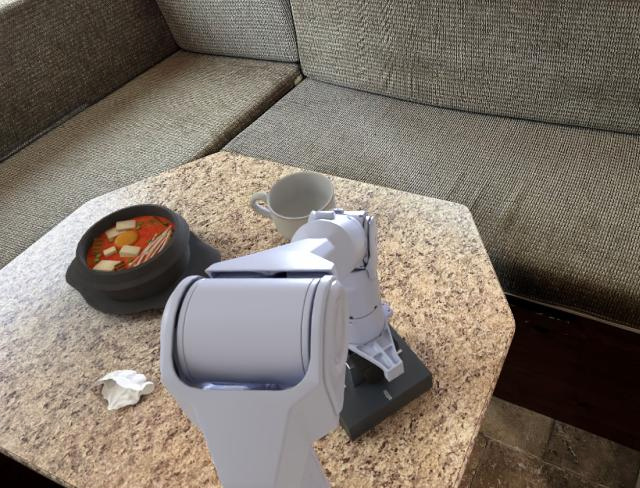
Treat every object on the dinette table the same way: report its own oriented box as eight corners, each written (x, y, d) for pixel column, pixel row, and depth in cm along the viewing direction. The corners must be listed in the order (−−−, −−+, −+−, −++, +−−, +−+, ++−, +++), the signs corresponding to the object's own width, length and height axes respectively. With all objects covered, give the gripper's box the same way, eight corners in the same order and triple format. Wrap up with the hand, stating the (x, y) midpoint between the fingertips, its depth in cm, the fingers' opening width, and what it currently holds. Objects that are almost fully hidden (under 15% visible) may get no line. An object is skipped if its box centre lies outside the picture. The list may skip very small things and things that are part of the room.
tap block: (352, 441, 72) (348, 428, 70) (312, 381, 78) (308, 368, 76) (433, 386, 76) (432, 372, 74) (389, 334, 83) (387, 320, 81)
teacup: (350, 211, 103) (343, 174, 98) (327, 257, 95) (318, 220, 90) (275, 201, 106) (265, 165, 101) (247, 244, 99) (235, 208, 93)
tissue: (115, 365, 83) (104, 349, 80) (159, 385, 80) (149, 369, 77) (83, 399, 79) (71, 383, 77) (129, 422, 76) (117, 406, 74)
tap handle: (353, 387, 74) (349, 367, 71) (347, 378, 75) (342, 358, 72) (391, 363, 76) (388, 343, 73) (384, 354, 77) (380, 334, 74)
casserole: (245, 245, 98) (232, 207, 93) (181, 338, 85) (162, 300, 80) (119, 222, 106) (100, 185, 100) (42, 304, 92) (15, 267, 87)
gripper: (423, 322, 63) (429, 393, 72) (352, 244, 73) (365, 315, 81) (366, 358, 60) (380, 427, 69) (300, 272, 70) (319, 342, 79)
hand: (369, 368), depth 75 cm, fingers open, 3 cm apart
